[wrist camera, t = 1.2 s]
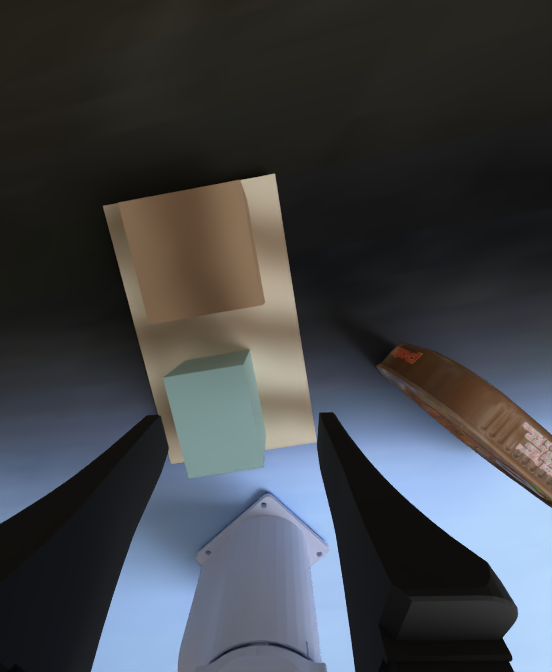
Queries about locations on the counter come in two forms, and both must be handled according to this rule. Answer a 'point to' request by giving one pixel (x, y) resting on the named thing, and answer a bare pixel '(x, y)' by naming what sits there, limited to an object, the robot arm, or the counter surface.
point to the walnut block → (193, 252)
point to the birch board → (233, 329)
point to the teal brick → (217, 414)
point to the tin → (475, 415)
